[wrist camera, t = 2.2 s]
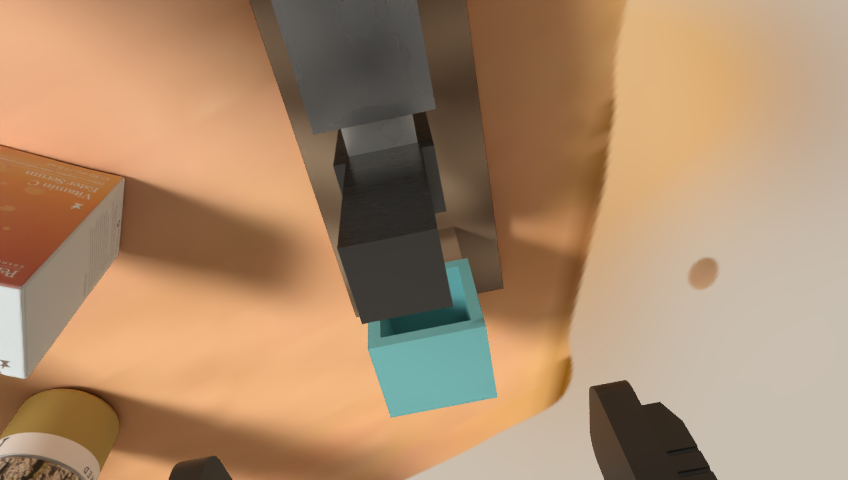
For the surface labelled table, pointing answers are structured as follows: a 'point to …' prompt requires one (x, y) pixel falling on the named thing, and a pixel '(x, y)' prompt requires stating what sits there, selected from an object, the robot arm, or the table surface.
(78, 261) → the small box
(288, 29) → the sleeve
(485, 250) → the rig base
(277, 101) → the table surface
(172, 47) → the table surface
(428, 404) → the socket
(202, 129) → the table surface
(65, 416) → the paper tube
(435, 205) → the grey block with post
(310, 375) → the table surface
